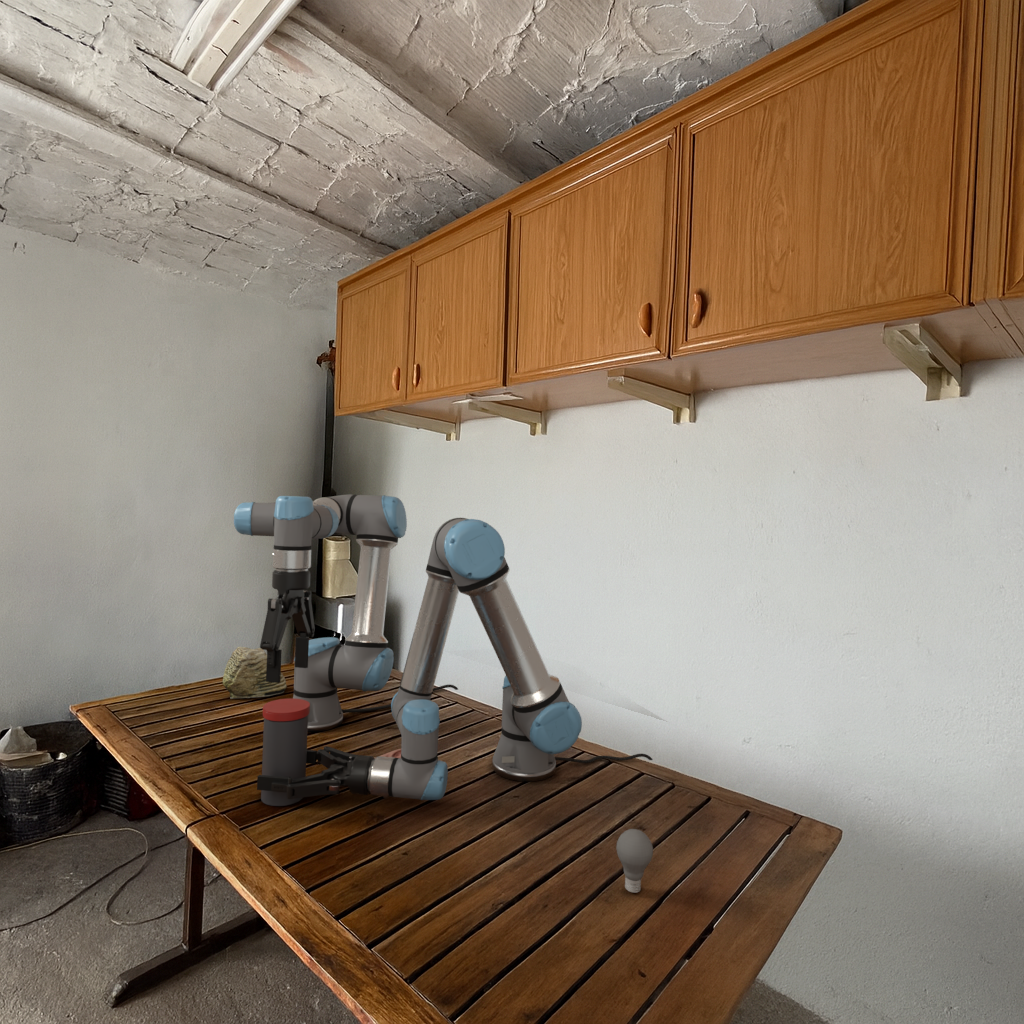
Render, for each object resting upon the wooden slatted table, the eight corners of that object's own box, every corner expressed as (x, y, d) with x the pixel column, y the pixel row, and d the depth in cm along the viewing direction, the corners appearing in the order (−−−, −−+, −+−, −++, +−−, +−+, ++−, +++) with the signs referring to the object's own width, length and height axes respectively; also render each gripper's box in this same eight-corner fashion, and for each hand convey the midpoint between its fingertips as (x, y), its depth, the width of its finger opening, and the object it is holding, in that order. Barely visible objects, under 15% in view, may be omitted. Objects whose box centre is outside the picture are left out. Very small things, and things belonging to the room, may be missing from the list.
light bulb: (610, 879, 108) (613, 822, 108) (644, 879, 109) (647, 822, 109) (619, 902, 102) (622, 840, 102) (655, 901, 103) (658, 840, 103)
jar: (306, 785, 139) (309, 700, 138) (303, 804, 130) (307, 713, 130) (263, 788, 136) (267, 701, 136) (258, 807, 128) (261, 715, 128)
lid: (310, 705, 139) (311, 697, 139) (308, 720, 130) (308, 711, 130) (265, 707, 136) (265, 699, 136) (259, 722, 127) (259, 713, 127)
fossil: (218, 695, 195) (220, 647, 195) (278, 685, 208) (279, 640, 207) (228, 703, 189) (230, 653, 188) (289, 692, 201) (290, 645, 201)
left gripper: (302, 563, 144) (298, 659, 145) (242, 574, 122) (238, 688, 122) (333, 565, 143) (329, 662, 144) (279, 577, 120) (274, 692, 121)
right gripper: (352, 823, 119) (243, 814, 121) (387, 768, 144) (297, 761, 146) (353, 784, 119) (244, 775, 120) (389, 735, 144) (298, 729, 145)
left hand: (287, 674), depth 133 cm, fingers open, 11 cm apart
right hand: (273, 768), depth 133 cm, fingers open, 13 cm apart
